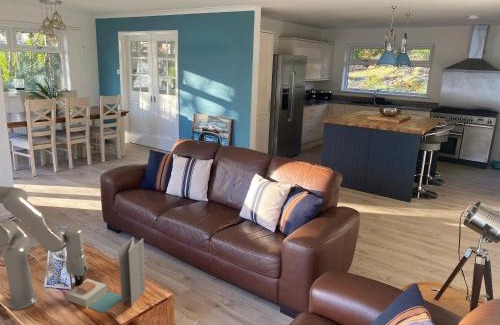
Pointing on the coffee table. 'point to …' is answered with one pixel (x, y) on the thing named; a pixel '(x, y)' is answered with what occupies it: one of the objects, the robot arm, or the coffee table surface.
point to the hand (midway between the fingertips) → (79, 284)
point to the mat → (105, 302)
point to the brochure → (132, 270)
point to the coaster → (86, 287)
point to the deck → (85, 298)
